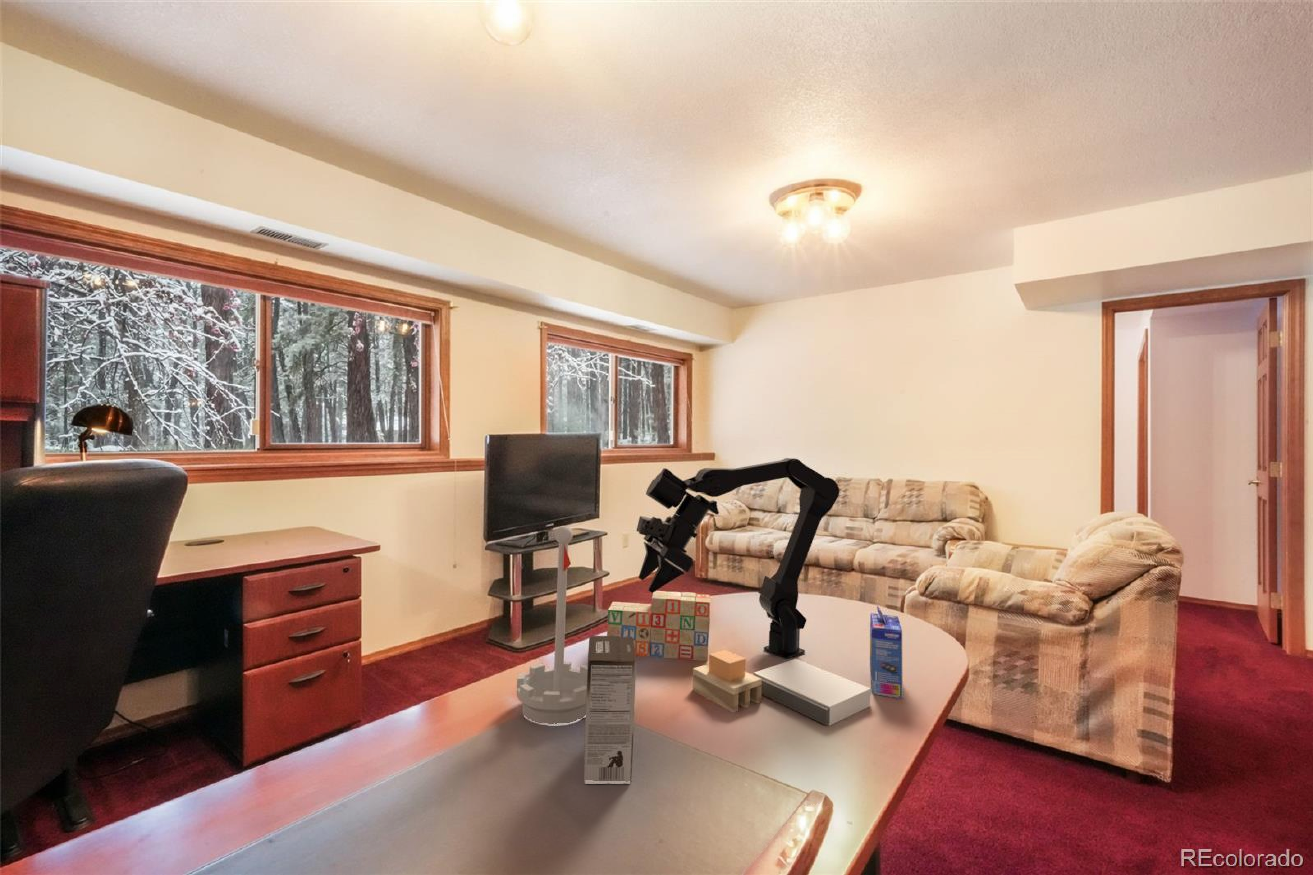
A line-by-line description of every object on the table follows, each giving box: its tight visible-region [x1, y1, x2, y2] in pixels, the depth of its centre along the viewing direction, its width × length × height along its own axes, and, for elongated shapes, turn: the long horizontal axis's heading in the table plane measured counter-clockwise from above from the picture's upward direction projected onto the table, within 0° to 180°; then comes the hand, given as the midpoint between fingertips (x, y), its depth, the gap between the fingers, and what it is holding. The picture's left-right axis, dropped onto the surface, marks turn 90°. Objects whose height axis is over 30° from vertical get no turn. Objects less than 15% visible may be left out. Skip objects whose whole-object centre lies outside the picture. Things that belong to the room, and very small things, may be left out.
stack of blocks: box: [606, 590, 711, 662], centre depth 118 cm, size 21×6×12 cm, turn 84°
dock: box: [752, 658, 872, 727], centre depth 99 cm, size 13×16×3 cm
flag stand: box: [516, 525, 588, 724], centre depth 91 cm, size 13×13×30 cm
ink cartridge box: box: [869, 605, 904, 699], centre depth 105 cm, size 10×6×14 cm, turn 161°
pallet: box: [692, 663, 762, 713], centre depth 99 cm, size 7×10×4 cm
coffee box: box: [583, 635, 637, 782], centre depth 76 cm, size 9×6×16 cm
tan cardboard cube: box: [708, 649, 747, 681], centre depth 99 cm, size 4×5×3 cm
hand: (645, 585), depth 115 cm, fingers open, 9 cm apart
